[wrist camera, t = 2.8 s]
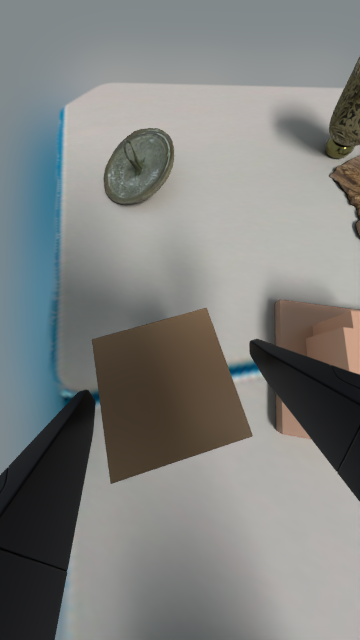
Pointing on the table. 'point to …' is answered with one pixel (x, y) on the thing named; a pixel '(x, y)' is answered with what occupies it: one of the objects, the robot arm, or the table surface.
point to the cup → (346, 119)
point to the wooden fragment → (350, 182)
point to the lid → (139, 166)
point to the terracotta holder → (315, 344)
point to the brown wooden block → (165, 394)
